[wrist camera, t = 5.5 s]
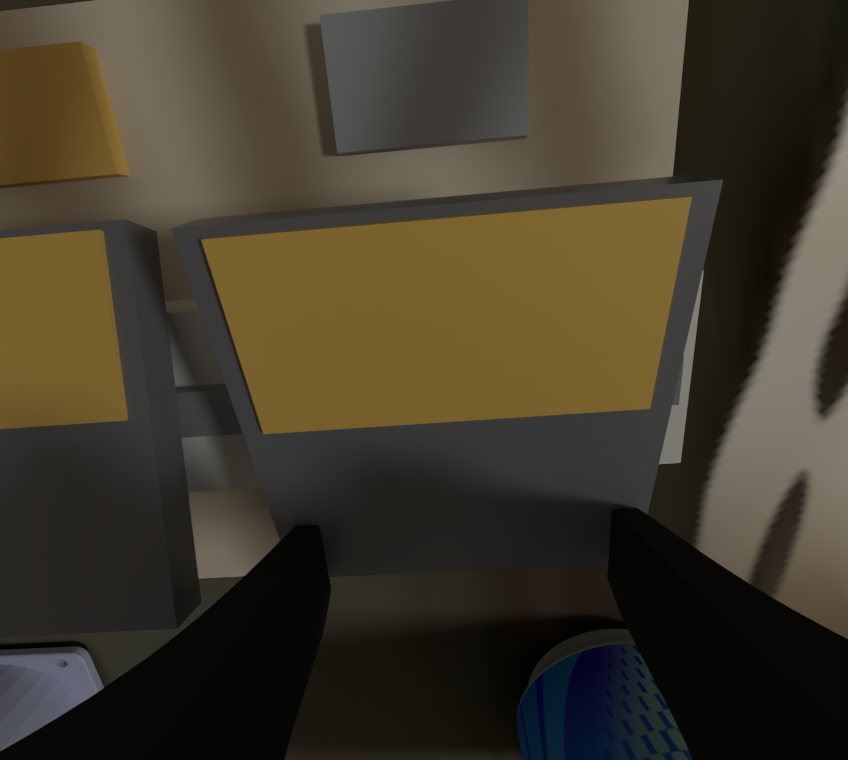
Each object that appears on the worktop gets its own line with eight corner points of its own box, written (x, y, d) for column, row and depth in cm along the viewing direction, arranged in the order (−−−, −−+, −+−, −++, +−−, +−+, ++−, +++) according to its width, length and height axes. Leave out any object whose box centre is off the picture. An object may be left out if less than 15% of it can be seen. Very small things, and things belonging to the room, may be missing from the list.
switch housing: (20, 447, 16) (-119, 520, 12) (-36, 314, 15) (-217, 346, 11) (622, 408, 15) (691, 472, 11) (632, 260, 14) (717, 272, 10)
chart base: (58, 567, 18) (26, 596, 17) (-164, 50, 12) (-242, 27, 11) (626, 538, 17) (644, 566, 16) (673, -43, 11) (707, -83, 10)
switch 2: (302, 547, 13) (292, 582, 12) (198, 219, 8) (167, 229, 7) (621, 531, 12) (638, 565, 11) (689, 174, 8) (727, 179, 7)
